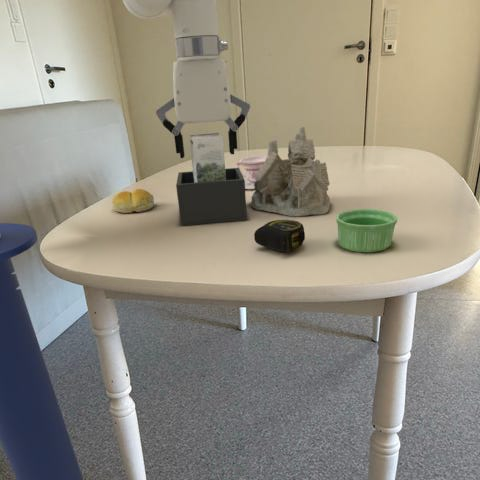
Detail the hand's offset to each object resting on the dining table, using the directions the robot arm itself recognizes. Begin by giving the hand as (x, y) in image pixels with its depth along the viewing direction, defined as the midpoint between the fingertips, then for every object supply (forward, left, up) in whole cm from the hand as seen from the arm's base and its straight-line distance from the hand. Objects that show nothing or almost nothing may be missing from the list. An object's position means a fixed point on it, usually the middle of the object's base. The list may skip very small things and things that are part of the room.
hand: (207, 155), depth 85 cm
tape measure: (+10, -24, -12) cm, 28 cm away
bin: (0, 0, -11) cm, 11 cm away
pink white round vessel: (+12, +24, -12) cm, 29 cm away
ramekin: (+23, -25, -12) cm, 36 cm away
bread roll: (-17, +10, -12) cm, 23 cm away
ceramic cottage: (+16, +1, -12) cm, 20 cm away
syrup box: (0, 0, -11) cm, 11 cm away
